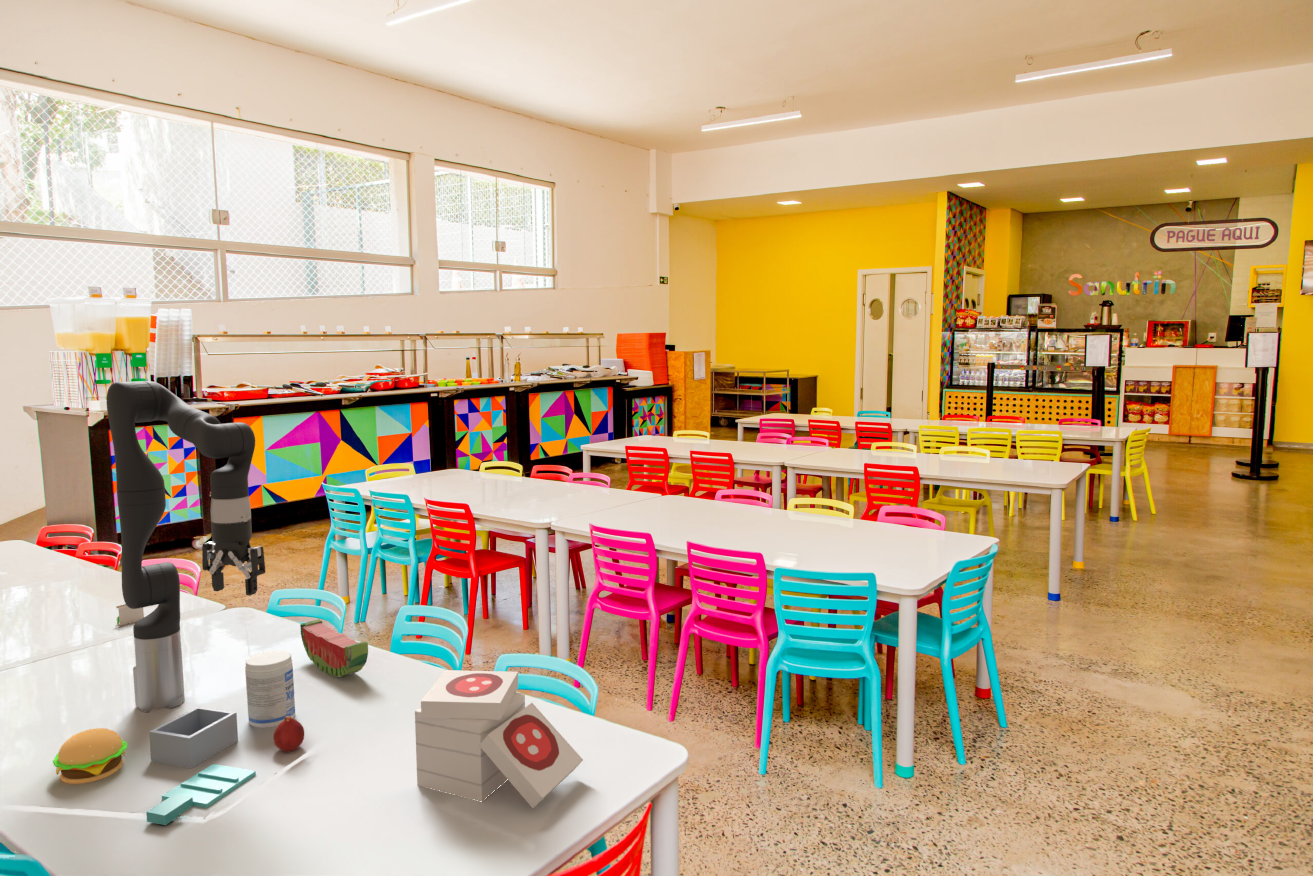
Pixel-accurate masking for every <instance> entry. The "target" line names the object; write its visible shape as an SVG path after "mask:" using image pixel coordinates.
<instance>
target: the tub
mask: <svg viewBox="0 0 1313 876" xmlns="http://www.w3.org/2000/svg"><path fill="white" fill-rule="evenodd" d="M238 732H239V731H238V715H237V711H229V710H223V709H217V708H212V707H211V708H210V707H203V706H196V707H194V708H192V709H190V710H188V711H187V712H184V713H183V714H180V715H179V716H177V717H175V718H173V719H171V720H169V721H167V722H165V723H163V724H160V726H157V727H155V728H153V729H151V730H149V732H148V733H149V748H150V750H149V751H150V762H153V763H157V764H158V763H159V764H163V765H168V766H175V767H180V768H186V769H193V768H195V767H197V766H199V764H202V763H203V762H205V761H207V760H208V759H210V758H212V757H213V756H216V755H217V754H218V753H220V752H222V751H223V750H225V749H227V748H228V747H231V746H232V745H233V744H235V743H237V742H239V736H238V735H239V734H238Z"/></svg>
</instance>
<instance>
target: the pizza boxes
mask: <svg viewBox="0 0 1313 876" xmlns="http://www.w3.org/2000/svg"><path fill="white" fill-rule="evenodd" d="M518 689H519V672H518V671H507V670H506V671H503V670H502V671H500V670H499V671H498V670H497V671H496V670H458V669H457V670H456V669H454V670H453V669H452V670H451V669H445V670H444V671H443V672H442V674H441V675H440V676H439V677H438V679H437V680H436V682H435V683H434V684H433V685H432V686H431V688H430V689H429V690H428V692H427V693H426V694H425V696H423V698H422V699H421V700H420V707H419V708H417V709H416V710H414V723H415V726H414V727H415V728H414V729H415V753H416V754H415V755H416V780H417V781H416V783H417V784H416V785H417V786H418V785H419V786H418V787H422V788H425V787H427V788H426V789H429V788H432V789H431V790H433V789H435V790H434V791H437V790H438V791H437V792H440V791H442V792H441V793H444V792H447V793H446V794H448V793H451V794H450V795H452V794H455V795H454V796H456V795H459V796H462V797H461V798H463V797H466V798H465V799H467V798H470V799H469V800H471V799H475V800H478V801H483V800H484V799H485V798H486V797H488V795H490V794H491V793H492V792H493V791H494V790H496V789H497V788H498V787H499V786H500V785H502V784H503V783H504V782H505V781H506V780H507V779H508V782H509V783H510V784H511V786H513V787H514V788H515V789H516V791H518V792H517V793H519V794H520V795H521V796H522V798H523V799H524V800H525V801H526V803H528V805H529V806H530V807H531V809H535V807H536V806H537V805H539V804H540V802H541V803H542V801H543V800H544V799H545V798H546V797H547V796H548V795H550V793H552V791H554V790H555V789H556V788H557V787H558V786H559V785H560V784H561V783H562V782H563V781H564V780H565V779H566V778H567V777H568V776H569V775H570V774H571V773H572V772H573V771H575V770H576V768H577V767H579V766H580V764H581V763H582V762H583V761H584V759H583V758H582V757H581V755H580V754H578V752H577V751H576V750H575V749H574V748H573V746H572V745H570V743H569V742H568V740H566V739H565V738H564V737H563V735H562V734H561V733H560V732H559V731H558V730H557V729H556V727H554V726H553V724H552V723H551V722H550V721H549V719H547V718H546V716H545V715H544V714H543V713H542V712H541V711H540V710H539V709H538V708H537V706H536V705H535V704H534V702H531V703H530V704H528V705H527V706H526V697H525V696H526V694H525V693H521V692H517V690H518ZM503 785H504V784H503ZM503 785H502V786H503ZM439 790H440V791H439ZM497 790H498V789H497ZM497 790H496V791H497ZM491 795H492V794H491ZM491 795H490V796H491ZM459 796H458V797H459ZM488 798H489V797H488ZM485 800H486V799H485ZM485 800H484V801H485ZM478 801H477V802H478ZM484 801H483V802H484Z"/></svg>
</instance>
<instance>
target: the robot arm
mask: <svg viewBox="0 0 1313 876" xmlns="http://www.w3.org/2000/svg"><path fill="white" fill-rule="evenodd" d="M106 411H107V417H108V418H107V419H108V424H109V429H110V435H111V439H112V445H113V452H114V454H113V455H114V463H115V464H114V465H115V477H116V497H117V498H116V499H117V508H118V509H117V510H118V514H119V515H118V516H119V517H118V518H119V525H120V535H121V537H120V538H121V591H122V598H123V600H124V603H125V604H126V605H127V606H128V607H129V608H131V609H137V608H143V609H144V608H147V607H152V606H156V605H157V607H156V608H155V609H154V610H152V612H150V613H149V614H148V615H146V616H144V618H142V619H140V620H139V621H136V622H134V624H133V627H132V628H133V630H132V632H133V643H134V656H135V657H134V658H135V666H133V668H132V675H133V677H132V678H133V689H134V702H135V708H138V709H139V710H140V711H141V712H144V713H151V712H152V711H155V710H162V709H169V710H171V709H174V708H176V707H178V706H180V705H182V704H183V703H184V702H185V699H186V697H185V685H184V683H185V682H184V681H185V680H184V668H183V667H184V666H183V651H182V650H183V649H182V640H181V639H182V637H181V636H182V635H181V582H180V575H179V570H178V569H177V566H176V565H174V564H173V563H172V562H169V561H168V562H167V561H166V562H161V563H159V562H158V563H155V564H149V565H144V566H142V564H143V557H144V556H143V555H144V552H145V549H146V546H147V543H148V541H149V539H150V537H151V536H152V534H153V532H154V531H155V529H156V527H157V526H158V524H159V522H160V521H161V520H162V517H163V515H164V513H165V510H166V507H167V503H166V502H167V501H166V487H165V480H164V477H163V475H162V473H161V471H160V470H159V469H158V468H157V467H156V465H155V463H153V462H152V460H151V459H150V458H149V456H148V455H147V454H146V453H145V451H144V450H143V448H142V447H141V445H140V443H139V440H138V436H137V435H138V434H137V430H136V423H137V424H138V423H146V422H147V423H150V422H153V421H163V422H167V425H168V427H169V429H170V431H171V432H172V433H173V434H174V435H175V436H177V437H178V438H180V439H182V440H184V441H186V442H188V443H190V444H192V445H193V446H194V447H195V448H196V449H197V450H198V451H199V453H200V454H201V455H203V456H204V457H207V458H210V459H224V458H228V460H227V461H226V462H227V463H226V464H225V465H224V466H221V467H220V468H217V469H215V470H213V471H212V472H211V474H210V475H209V477H210V480H209V481H210V482H209V483H210V494H211V495H210V497H211V500H210V526H211V527H210V529H211V540H212V541H208V542H205V543H202V547H201V548H202V550H201V551H202V560H201V561H202V566H201V567H202V570H203V571H205V572H206V571H208V572H209V574H210V575H211V587H212V589H213V591H214V592H219V591H223V590H224V588H225V580H224V571H223V570H224V569H225V567H226V566H229V565H230V566H232V567H237V569H238V570H239V571H241V572H242V573H243V575H244V577H245V579H244V585H245V596H252V595H256V593H257V592H258V576H260V575H264V574H266V562H265V553H264V547H263V546H262V545H258V546H256V547H255V546H254V547H253V546H251V543H250V540H251V539H252V537H253V531H252V529H253V527H252V511H251V508H252V507H251V501H250V496H249V493H250V492H249V473H250V468H251V464H252V461H253V456H254V453H255V447H256V436H255V433H254V430H253V429H252V427H251V426H250V425H249V424H247V423H245V422H227V423H221V422H220V420H219V419H218V418H217V417H216V416H214V415H212V414H210V413H208V412H205V411H202V410H201V409H198V408H196V407H193V406H191V405H190V404H188V403H186V402H185V401H184V400H183V399H181V398H180V397H178V396H177V395H176V394H175V393H173V392H172V391H170V390H169V389H168V388H166V387H165V386H164V385H162V384H160V383H158V382H156V381H151V380H141V381H140V380H139V381H118V382H113V383H112V384H111V385H110V386H109V387H108V389H107V392H106ZM245 562H246V563H245ZM183 701H184V702H183ZM182 702H183V703H182ZM181 703H182V704H181ZM179 704H180V705H179ZM177 705H178V706H177ZM175 706H176V707H175ZM173 707H174V708H173Z"/></svg>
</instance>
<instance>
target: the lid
mask: <svg viewBox="0 0 1313 876" xmlns="http://www.w3.org/2000/svg"><path fill="white" fill-rule="evenodd" d="M256 774H257V773H256V770H252V769H246V768H240V767H235V766H228V765H223V764H215V763H212V764H211V765H208V766H207V767H206V768H204V769H203V770H200V771H199V772H197V773H196V774H194V775H193V776H191V777H190V778H188V779H187V780H185V781H182V782H181V783H180V784H179V785H177V786H175V787H174V788H171V789H170V790H169V791H167V792H166V793H163V794H162V795H161V800H163V801H161V802H160V803H158V804H156V805H155V806H153V807H152V808H150V809H149V810H147V811H146V812H145V813H146V822H147V823H152V824H157V825H158V824H159V825H162V826H166V825H168V824H170V823H171V822H172V821H174V820H176V819H177V818H178V817H180V816H181V814H182V813H184V812H185V811H187V810H188V809H190V808H192V807H193V806H194V807H198V808H199V807H200V808H206V809H207V808H209V807H210V806H212V805H214V804H215V803H216V802H218V801H220V800H221V799H222V798H224V797H225V796H226V795H228V794H230V793H231V792H232V791H234V790H235V789H238V788H239V787H240V786H242V785H243V784H245V783H246V782H247V781H249V780H251V779H252V778H253V777H254V776H256Z"/></svg>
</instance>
